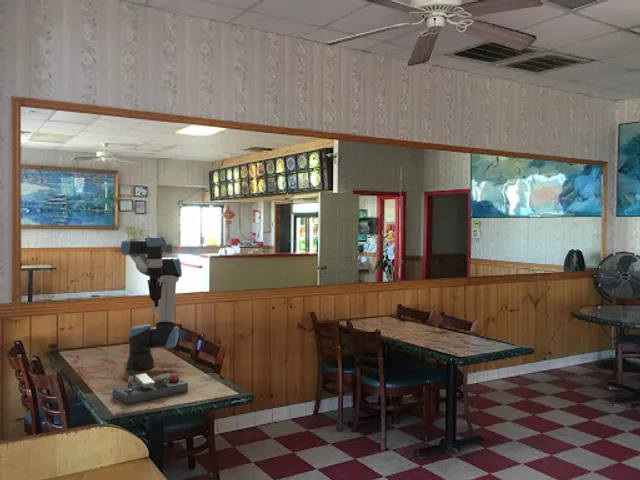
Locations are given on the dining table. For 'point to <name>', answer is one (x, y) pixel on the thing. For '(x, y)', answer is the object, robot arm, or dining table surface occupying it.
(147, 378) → the white flat block
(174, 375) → the button
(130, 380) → the lever
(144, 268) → the robot arm
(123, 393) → the panel
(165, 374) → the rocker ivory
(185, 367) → the dining table surface
